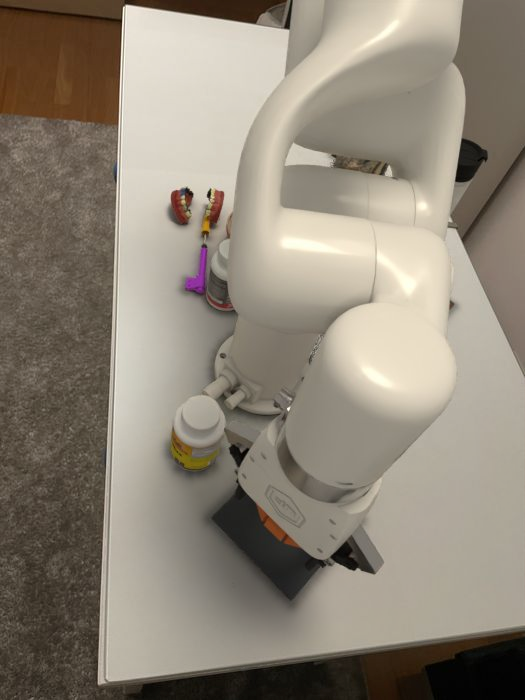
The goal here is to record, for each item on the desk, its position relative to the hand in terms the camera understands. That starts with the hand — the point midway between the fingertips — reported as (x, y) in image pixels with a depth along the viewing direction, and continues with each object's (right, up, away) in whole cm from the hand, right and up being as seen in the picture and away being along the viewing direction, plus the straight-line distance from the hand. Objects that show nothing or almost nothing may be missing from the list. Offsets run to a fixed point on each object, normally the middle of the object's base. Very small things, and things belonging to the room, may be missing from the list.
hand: (280, 521), depth 52 cm
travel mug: (+22, +32, +38) cm, 54 cm away
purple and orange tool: (-11, +30, +29) cm, 44 cm away
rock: (+12, +52, +42) cm, 68 cm away
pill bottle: (-7, +24, +26) cm, 36 cm away
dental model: (-7, +39, +32) cm, 51 cm away
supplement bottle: (-10, +4, +12) cm, 16 cm away
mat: (+1, -3, +10) cm, 10 cm away
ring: (+2, +1, +3) cm, 4 cm away
